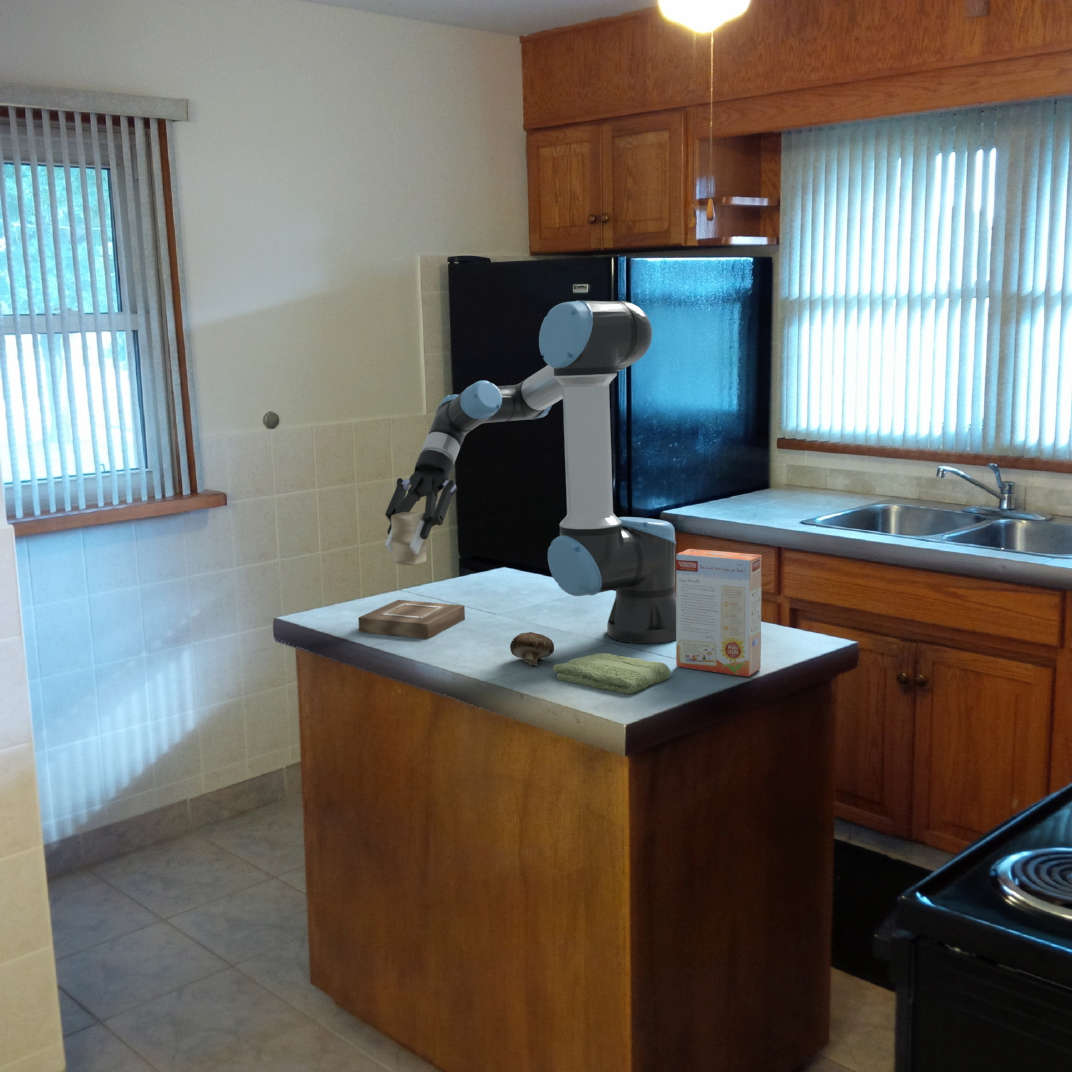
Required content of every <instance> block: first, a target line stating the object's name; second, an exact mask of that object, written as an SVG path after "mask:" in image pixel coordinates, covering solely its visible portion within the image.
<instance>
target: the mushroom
mask: <svg viewBox="0 0 1072 1072" xmlns="http://www.w3.org/2000/svg"><path fill="white" fill-rule="evenodd" d="M554 644H555V643H554V642H553V640H552V639H551V638H549V637H548V636H546V635H544V634H541V633H538V632H537V633H535V632H533V631H528V632H521V633H520V634H517V635H516V636H514V638H512V640H511V642H510V645H509V649H510V653H511V654H512V655H513V656H514V657H516V658H519V659H522V660H523V662H525V663H527V664H529V665H531V666H538V660H540V659H545V658H549V657H550V656H552V655H553V653H554V652H555V645H554Z"/></svg>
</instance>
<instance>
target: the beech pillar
mask: <svg viewBox="0 0 1072 1072" xmlns="http://www.w3.org/2000/svg"><path fill="white" fill-rule="evenodd" d="M424 515H425V512H418V511H417V512H416V511H412V512H411V511H410V512H401V513H398V514H395V515H392V516H391V522H390V523H391V524H392V545H393V553H392V564H393V565H400V566H401V565H403V566H404V565H405V566H412V567H413V566H418V565H420V564H423V563H424V562H427V539H424V540H423V543H422V545H421V548H420V550H419V553H418V555H417V554H414V553H413V551H412V550H411V548H410V544H411V542H412V539H413V537H414V534H415V532H416V529H417V527H418V524H419V522H420V520H421V521H424V522H425V520H424V519H423V517H424Z"/></svg>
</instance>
